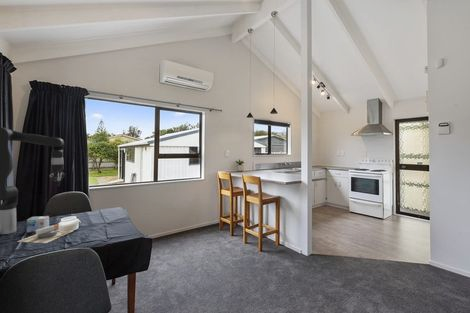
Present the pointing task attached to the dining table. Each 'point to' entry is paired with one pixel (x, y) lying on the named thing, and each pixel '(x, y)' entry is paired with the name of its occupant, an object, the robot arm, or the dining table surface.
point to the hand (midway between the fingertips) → (57, 185)
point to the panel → (44, 240)
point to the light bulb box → (37, 223)
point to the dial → (47, 231)
